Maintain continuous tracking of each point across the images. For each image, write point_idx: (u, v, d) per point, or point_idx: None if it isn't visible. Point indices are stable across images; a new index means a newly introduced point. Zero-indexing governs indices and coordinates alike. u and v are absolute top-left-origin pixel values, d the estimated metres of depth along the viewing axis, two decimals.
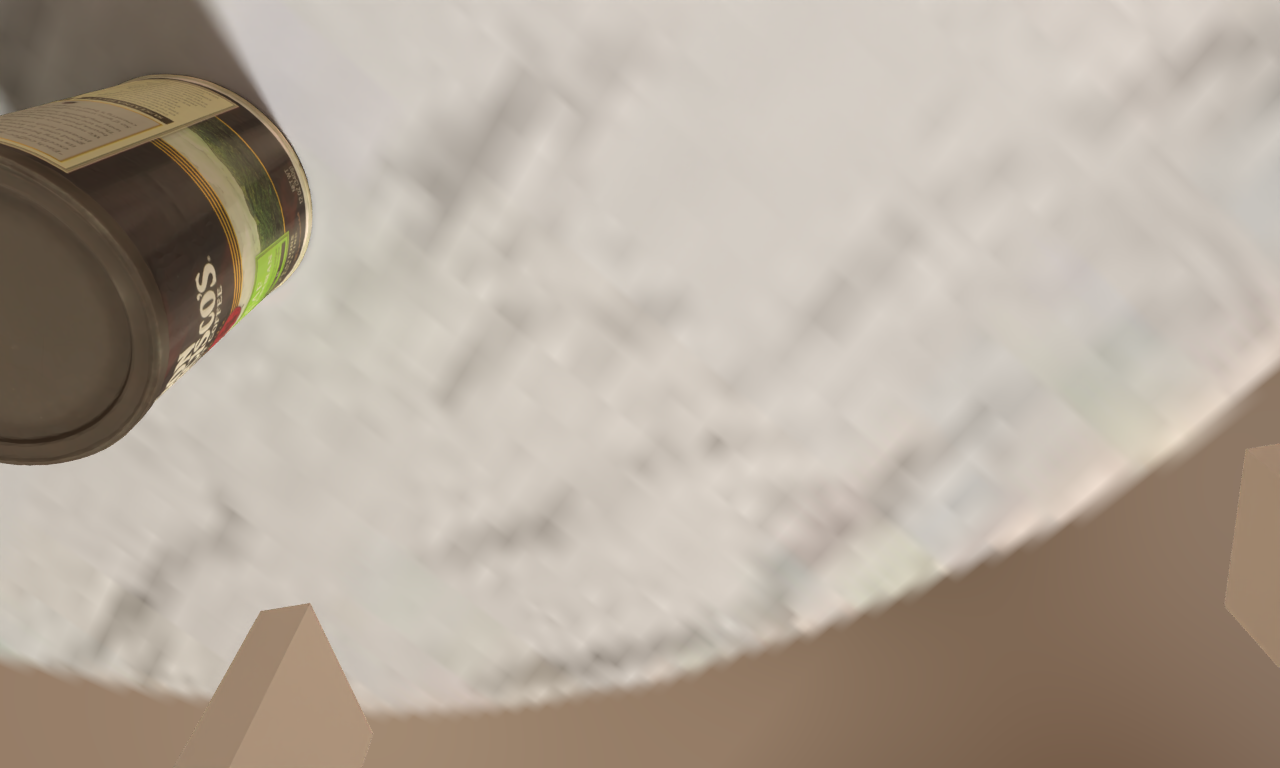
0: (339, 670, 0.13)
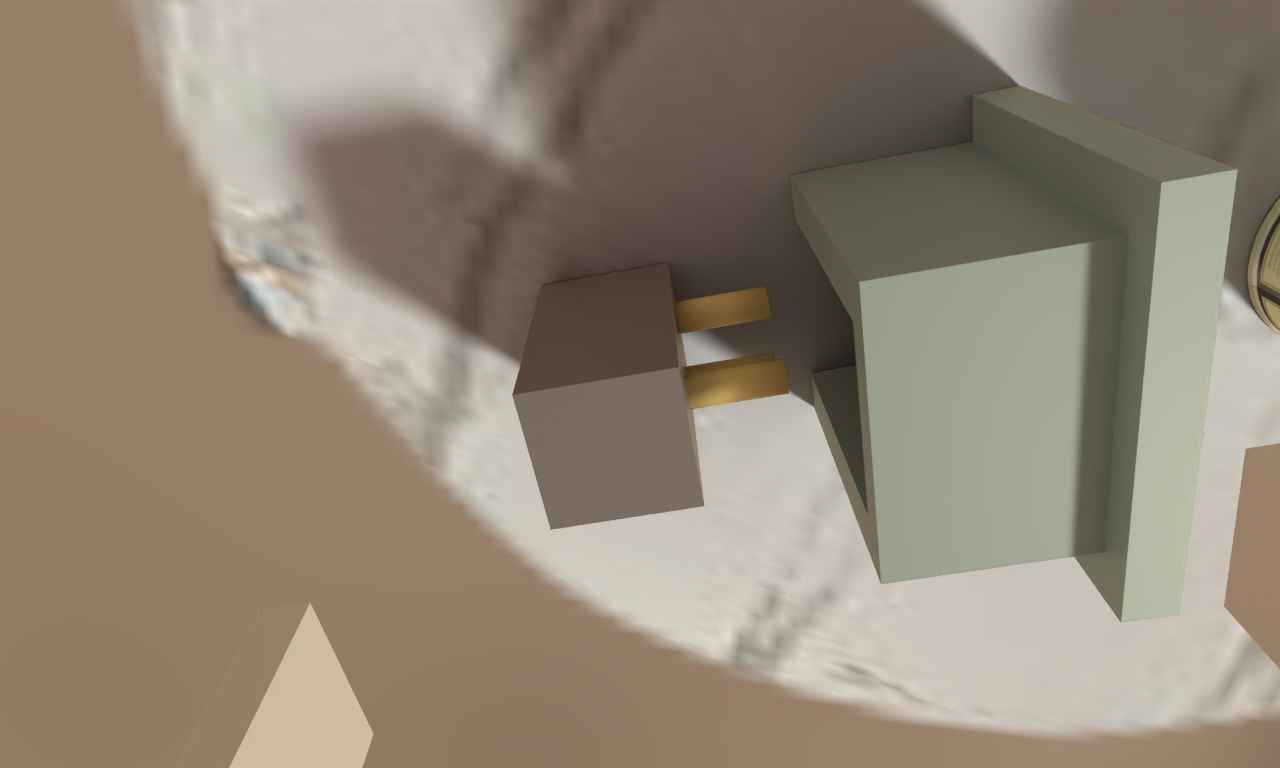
0: (338, 670, 0.13)
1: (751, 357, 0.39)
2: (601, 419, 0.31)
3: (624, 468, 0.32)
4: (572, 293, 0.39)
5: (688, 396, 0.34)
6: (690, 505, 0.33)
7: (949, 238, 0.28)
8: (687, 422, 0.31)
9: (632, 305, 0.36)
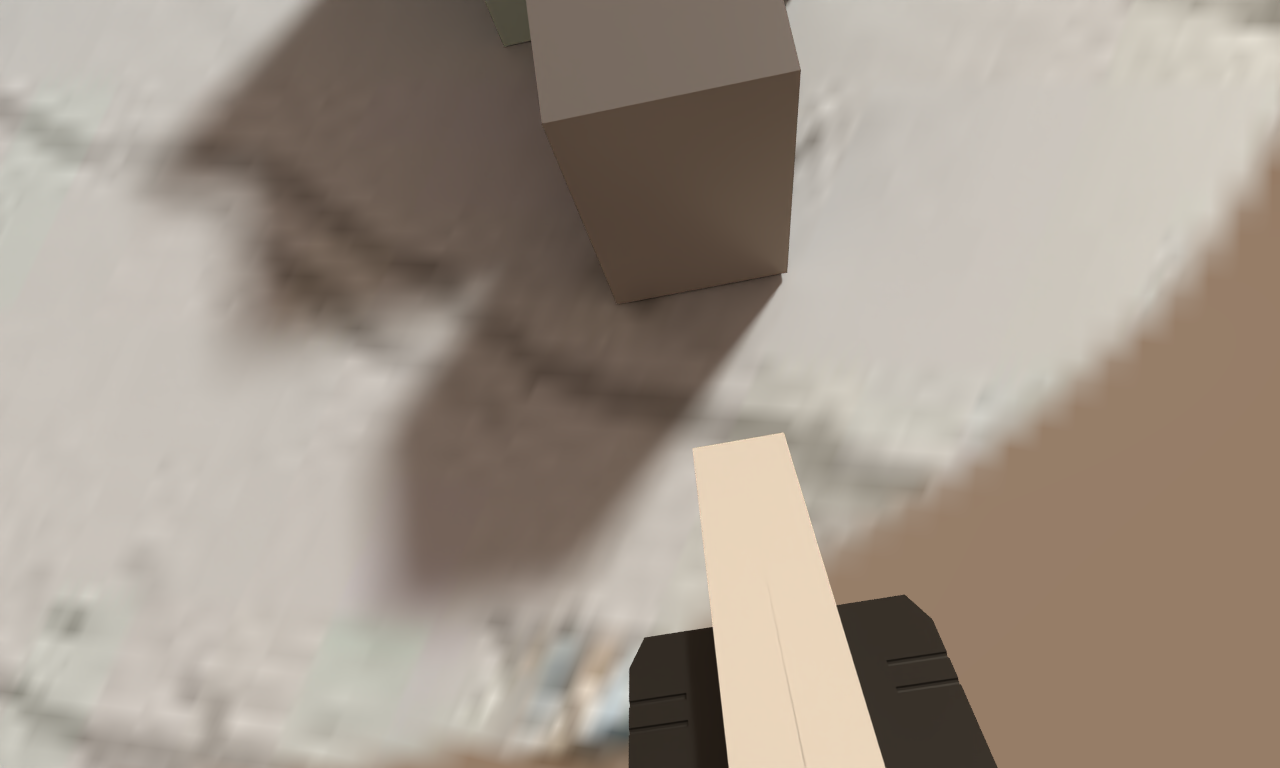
0: None
1: None
2: (592, 7, 0.21)
3: None
4: None
5: None
6: None
7: None
8: None
9: None
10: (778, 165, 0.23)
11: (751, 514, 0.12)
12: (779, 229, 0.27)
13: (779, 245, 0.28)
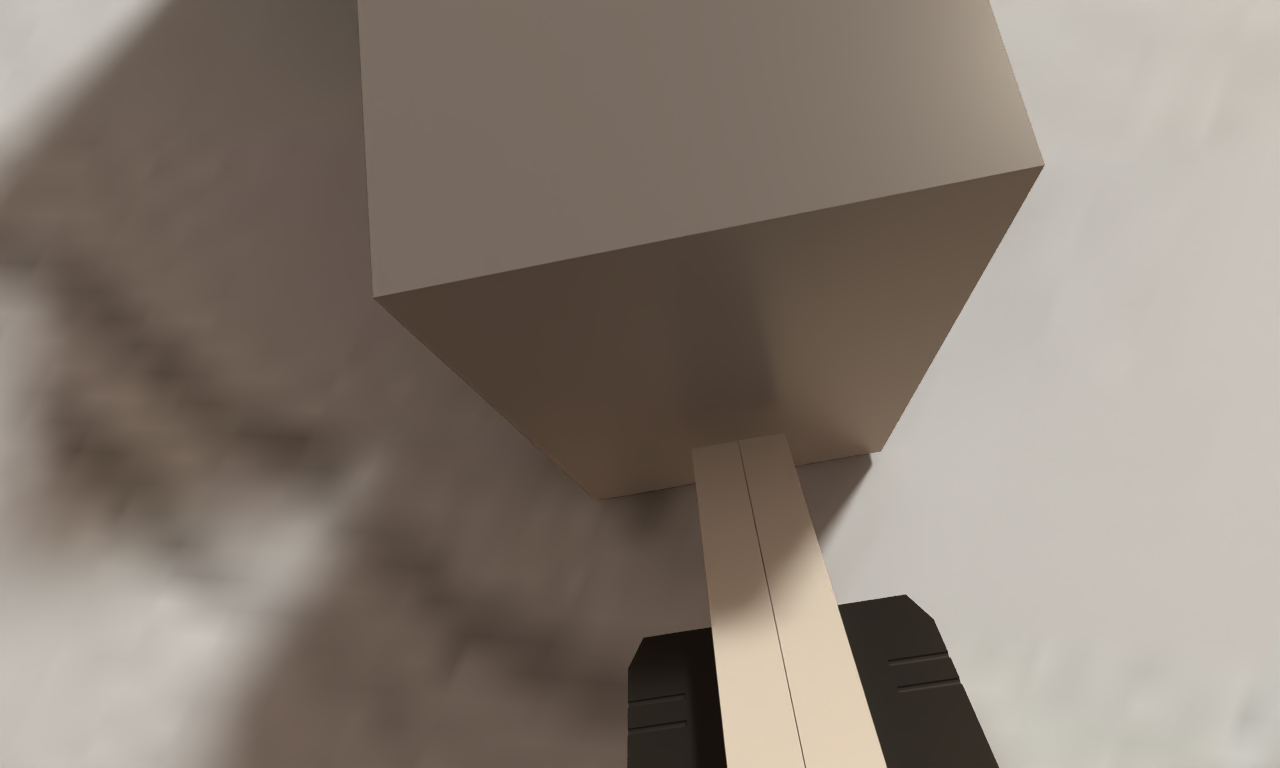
0: None
1: None
2: (508, 5, 0.09)
3: None
4: None
5: None
6: None
7: None
8: None
9: None
10: (918, 333, 0.11)
11: (752, 514, 0.12)
12: (886, 410, 0.15)
13: (879, 427, 0.16)
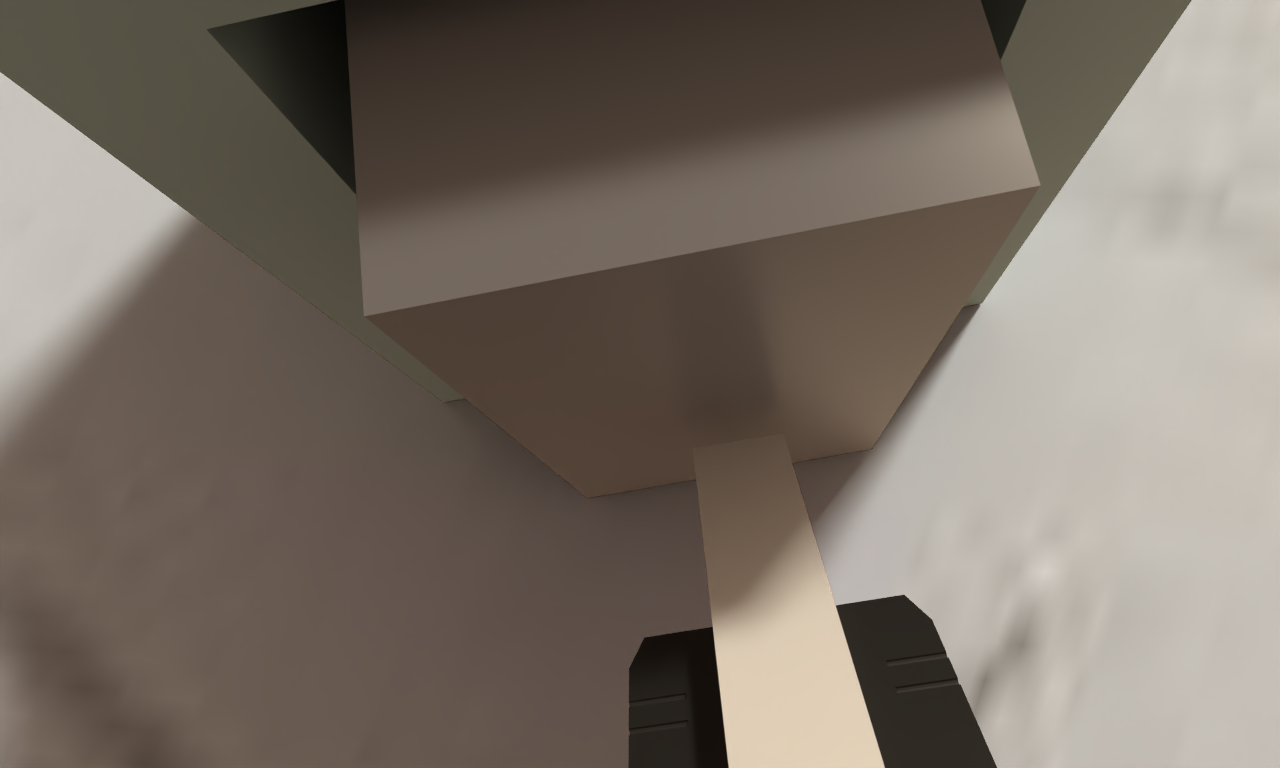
0: None
1: None
2: (498, 15, 0.09)
3: None
4: None
5: None
6: None
7: None
8: None
9: None
10: (910, 341, 0.11)
11: (750, 514, 0.12)
12: (876, 411, 0.15)
13: (870, 426, 0.16)
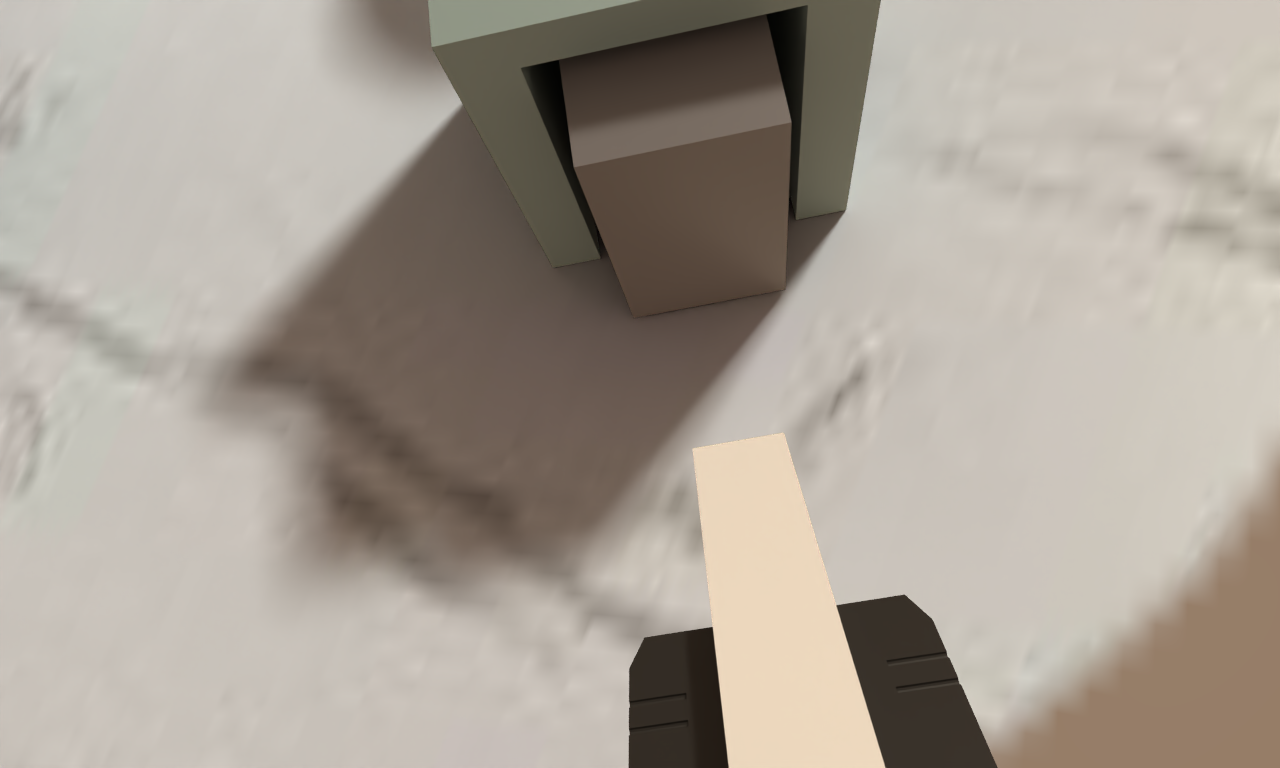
0: None
1: None
2: (615, 68, 0.25)
3: (689, 39, 0.24)
4: None
5: None
6: None
7: None
8: None
9: None
10: (775, 198, 0.27)
11: (751, 514, 0.12)
12: (776, 251, 0.30)
13: (777, 265, 0.31)
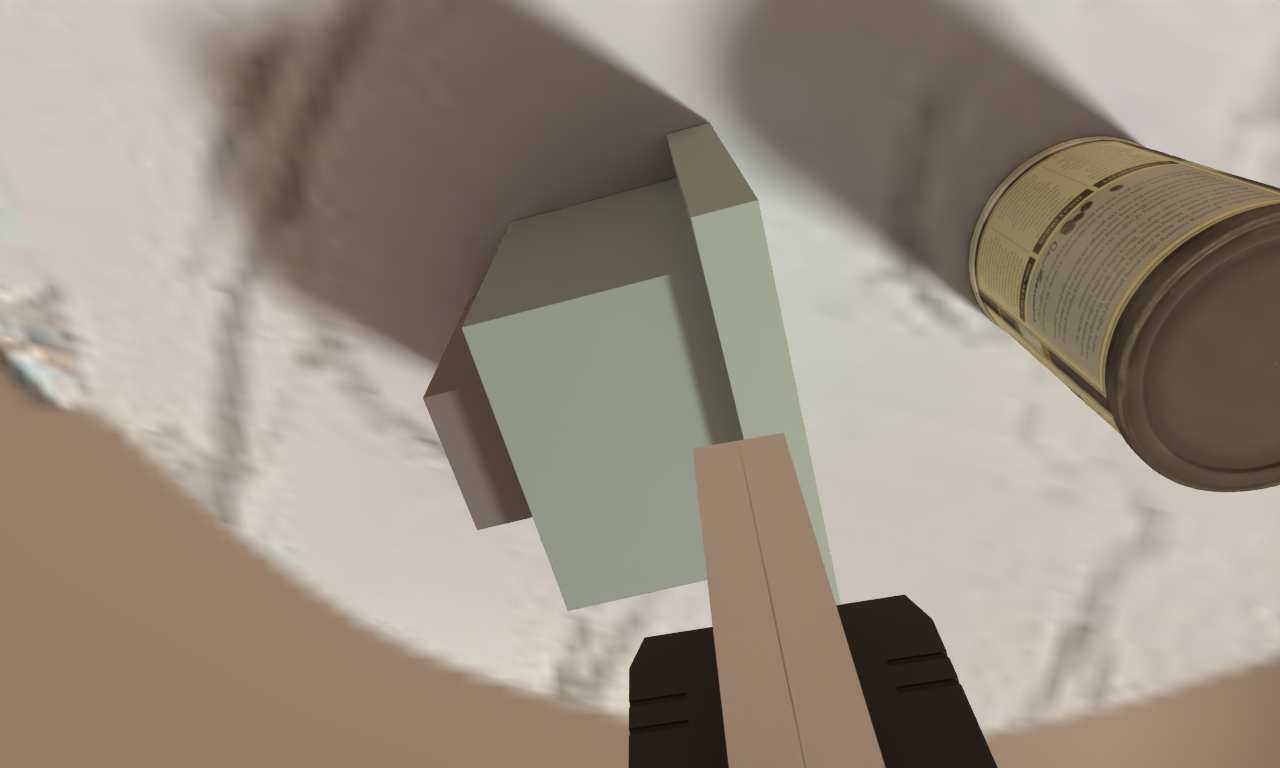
0: None
1: None
2: None
3: None
4: None
5: None
6: None
7: (567, 278, 0.30)
8: None
9: None
10: None
11: (751, 514, 0.12)
12: None
13: None
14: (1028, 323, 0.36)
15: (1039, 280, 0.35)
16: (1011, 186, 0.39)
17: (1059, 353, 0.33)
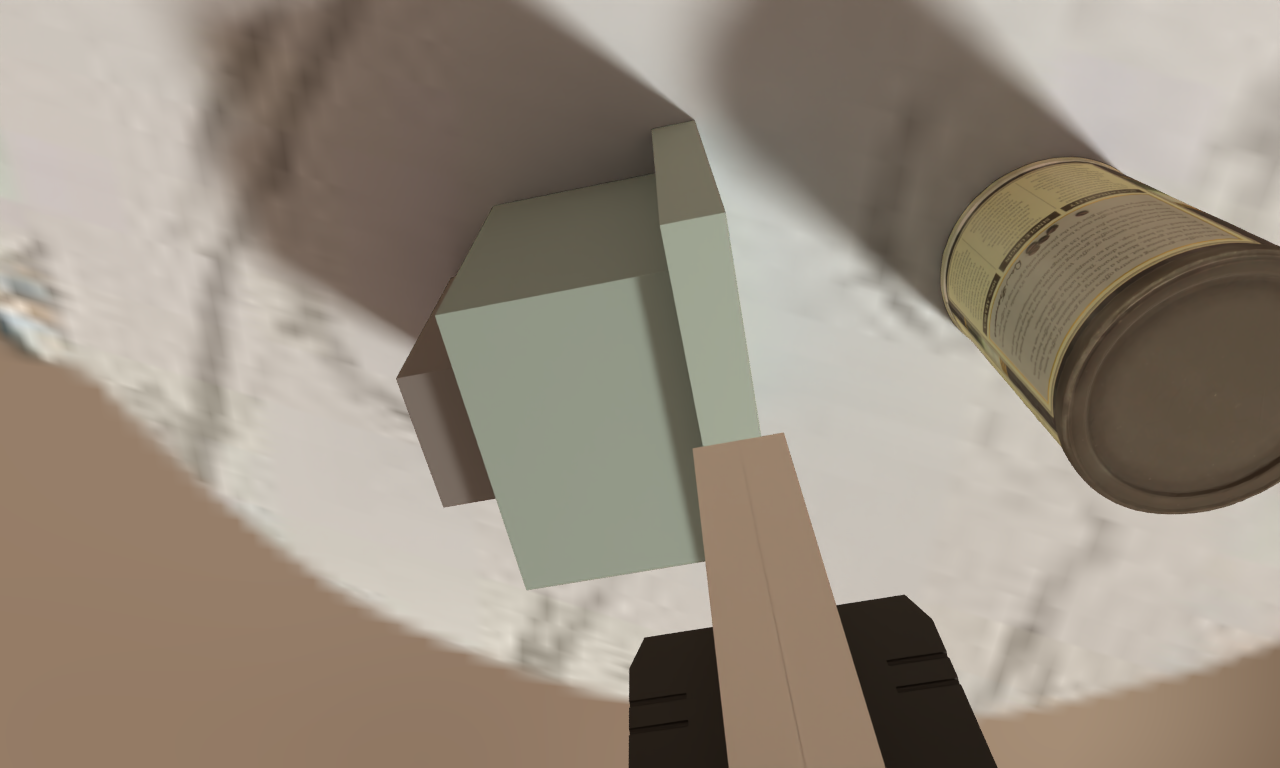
0: None
1: None
2: None
3: None
4: None
5: None
6: None
7: (542, 271, 0.31)
8: None
9: None
10: None
11: (751, 514, 0.12)
12: None
13: None
14: (990, 337, 0.37)
15: (1002, 297, 0.36)
16: (985, 201, 0.40)
17: (1015, 370, 0.35)
